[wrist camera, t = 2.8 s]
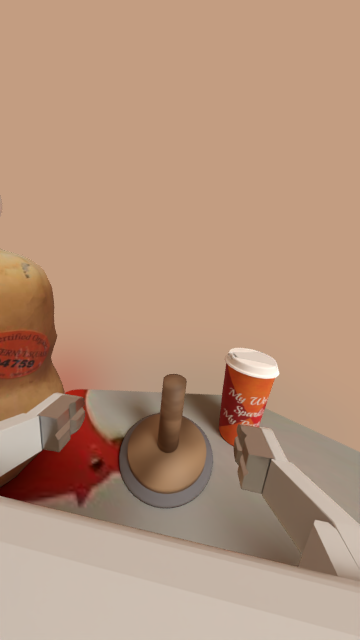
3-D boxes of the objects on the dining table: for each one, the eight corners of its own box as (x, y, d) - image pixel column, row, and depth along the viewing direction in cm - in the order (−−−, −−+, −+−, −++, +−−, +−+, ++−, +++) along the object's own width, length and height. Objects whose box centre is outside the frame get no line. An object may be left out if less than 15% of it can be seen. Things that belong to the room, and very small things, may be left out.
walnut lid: (108, 464, 21) (110, 389, 19) (154, 408, 31) (159, 354, 29) (191, 516, 17) (206, 429, 15) (212, 433, 27) (223, 373, 25)
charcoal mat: (96, 470, 21) (96, 468, 21) (152, 405, 33) (152, 403, 32) (197, 538, 16) (197, 535, 16) (219, 433, 28) (220, 431, 28)
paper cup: (218, 453, 25) (235, 366, 22) (209, 413, 32) (220, 344, 29) (270, 457, 25) (295, 372, 22) (249, 417, 32) (265, 348, 29)
